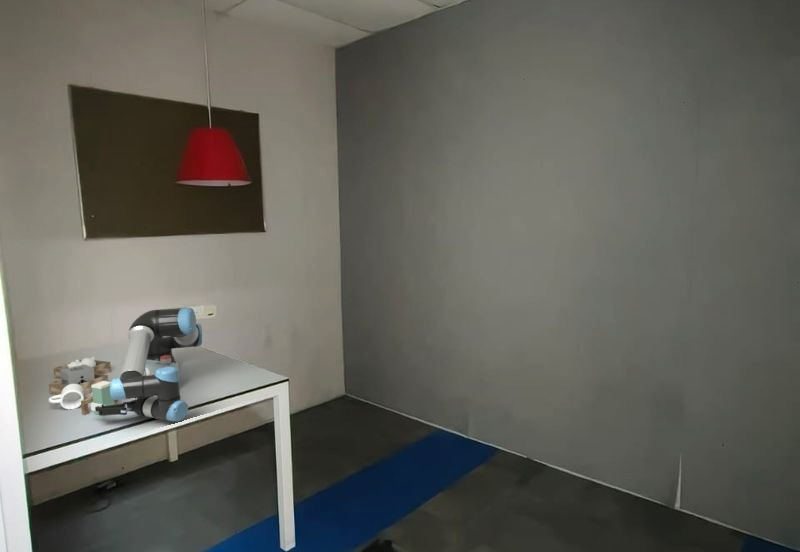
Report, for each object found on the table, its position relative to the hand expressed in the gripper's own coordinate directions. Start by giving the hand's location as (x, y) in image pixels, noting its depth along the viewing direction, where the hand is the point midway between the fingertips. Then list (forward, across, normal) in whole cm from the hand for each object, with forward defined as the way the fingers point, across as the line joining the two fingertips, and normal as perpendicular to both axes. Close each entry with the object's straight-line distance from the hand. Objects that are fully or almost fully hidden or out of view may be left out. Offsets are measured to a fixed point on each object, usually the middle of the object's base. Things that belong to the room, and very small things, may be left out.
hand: (107, 400), depth 189 cm
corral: (+47, +25, -6) cm, 54 cm away
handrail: (+10, +10, -6) cm, 15 cm away
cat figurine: (+59, +34, -6) cm, 69 cm away
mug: (+24, +1, -6) cm, 25 cm away
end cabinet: (+4, +29, -6) cm, 30 cm away
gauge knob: (-1, +29, +6) cm, 30 cm away
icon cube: (+38, +16, -6) cm, 42 cm away
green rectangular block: (+3, +1, -6) cm, 7 cm away
